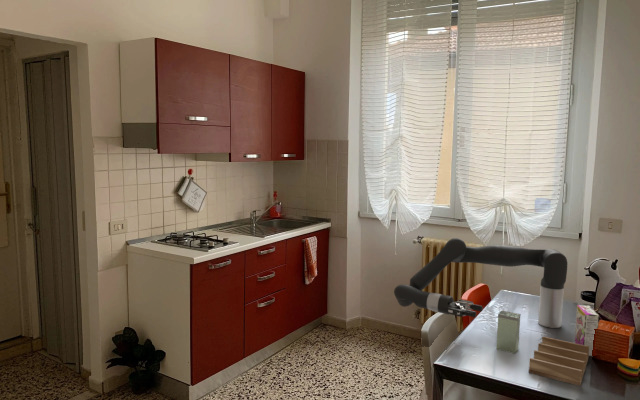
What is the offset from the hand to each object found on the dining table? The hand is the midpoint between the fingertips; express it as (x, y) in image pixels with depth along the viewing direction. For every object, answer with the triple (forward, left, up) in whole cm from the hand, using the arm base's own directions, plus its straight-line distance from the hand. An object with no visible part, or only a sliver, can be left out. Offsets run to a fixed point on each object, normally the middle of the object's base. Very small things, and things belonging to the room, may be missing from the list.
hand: (479, 311), depth 194 cm
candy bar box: (-16, +37, -13) cm, 42 cm away
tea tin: (0, +12, -13) cm, 17 cm away
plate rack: (+4, +31, -13) cm, 33 cm away
